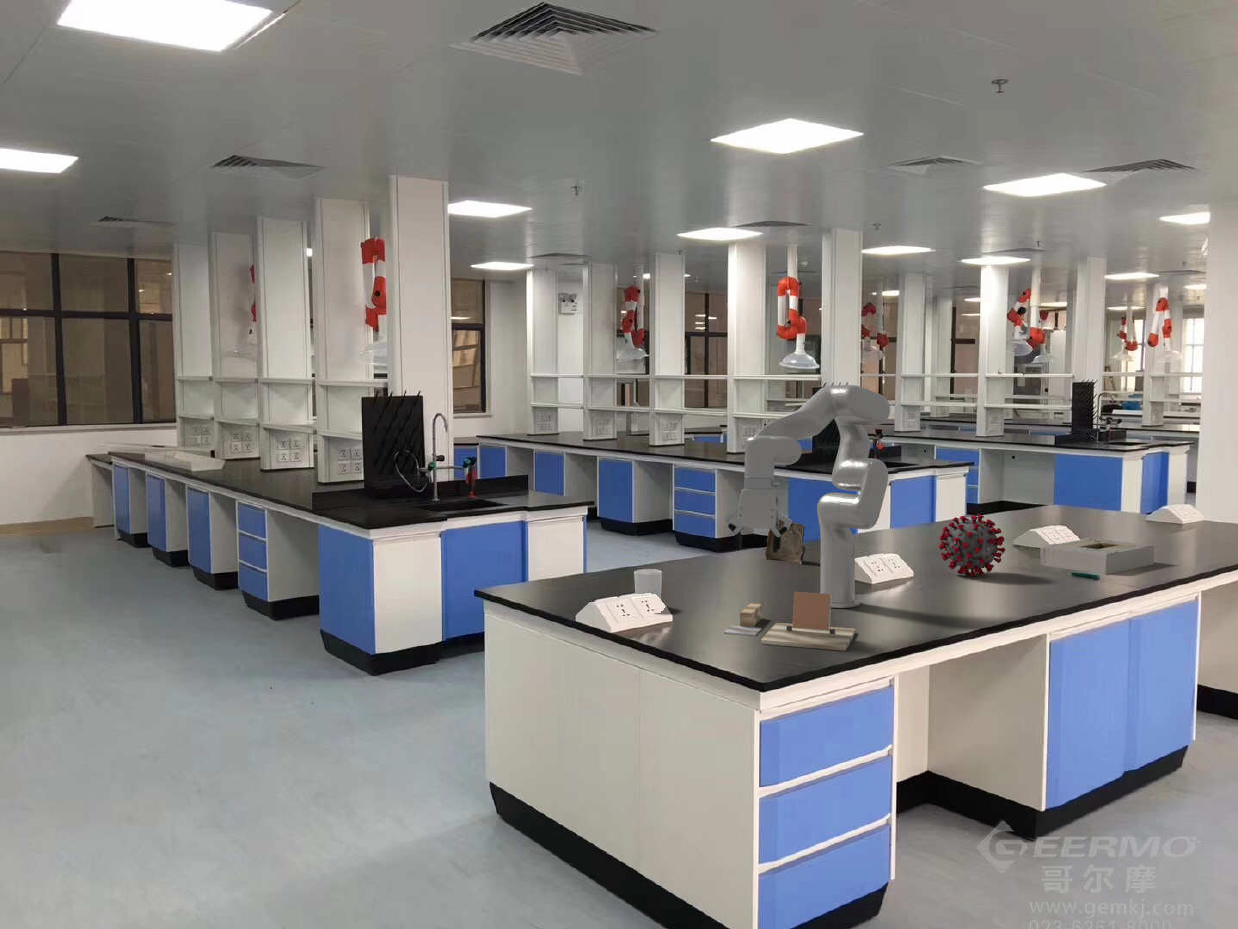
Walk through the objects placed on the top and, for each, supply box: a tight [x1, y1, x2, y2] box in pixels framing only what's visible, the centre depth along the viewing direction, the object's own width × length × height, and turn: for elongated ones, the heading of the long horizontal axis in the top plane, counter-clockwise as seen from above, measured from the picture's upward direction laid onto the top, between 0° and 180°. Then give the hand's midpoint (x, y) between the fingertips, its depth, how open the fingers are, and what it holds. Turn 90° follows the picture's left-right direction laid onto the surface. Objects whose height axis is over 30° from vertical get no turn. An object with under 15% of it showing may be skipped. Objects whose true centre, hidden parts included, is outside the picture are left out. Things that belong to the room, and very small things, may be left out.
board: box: [760, 622, 857, 652], centre depth 236 cm, size 18×20×2 cm
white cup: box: [633, 568, 663, 600], centre depth 272 cm, size 8×8×10 cm
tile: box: [791, 591, 832, 631], centre depth 239 cm, size 9×9×1 cm
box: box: [1040, 537, 1155, 575], centre depth 330 cm, size 23×8×32 cm
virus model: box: [938, 514, 1006, 577], centre depth 313 cm, size 20×20×20 cm
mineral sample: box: [765, 519, 806, 565], centre depth 342 cm, size 17×4×15 cm, turn 41°
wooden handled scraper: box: [723, 602, 763, 637], centre depth 249 cm, size 19×8×4 cm, turn 160°
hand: (757, 550), depth 249 cm, fingers open, 9 cm apart
